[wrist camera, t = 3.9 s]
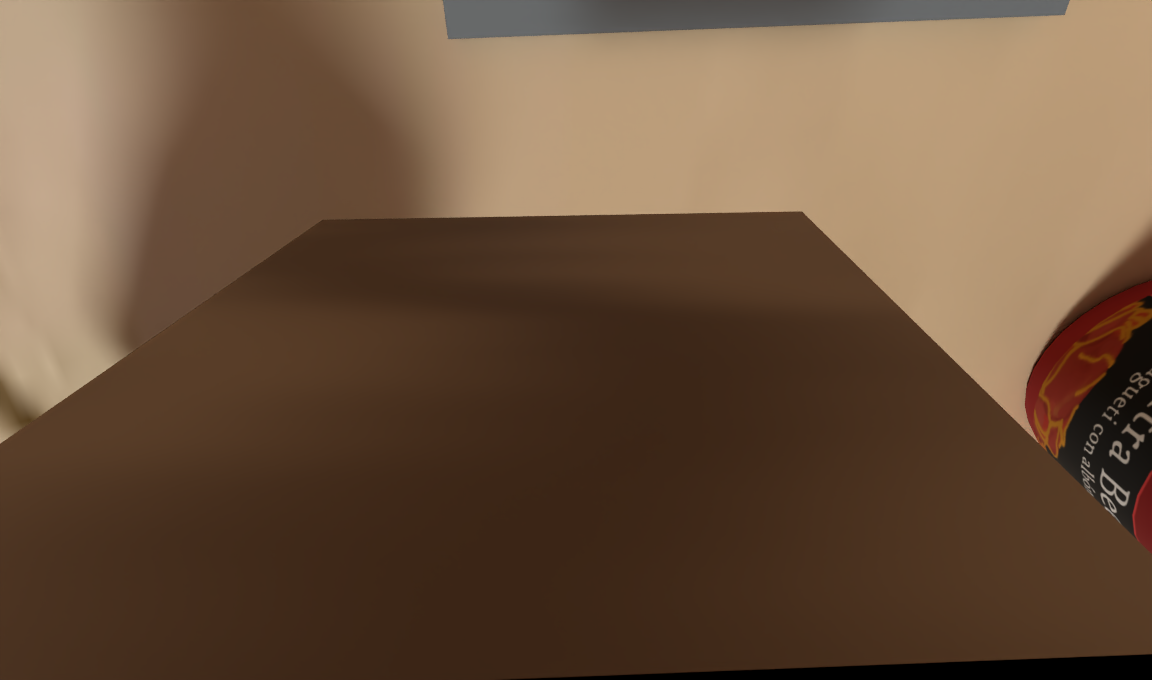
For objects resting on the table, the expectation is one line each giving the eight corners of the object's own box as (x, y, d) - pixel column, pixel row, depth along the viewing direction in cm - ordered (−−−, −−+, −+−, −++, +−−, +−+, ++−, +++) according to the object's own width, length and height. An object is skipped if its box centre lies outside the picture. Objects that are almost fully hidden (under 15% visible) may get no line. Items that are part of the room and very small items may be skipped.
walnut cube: (410, 539, 10) (197, 1092, 5) (322, 219, 7) (-489, 783, 2) (742, 545, 10) (898, 1152, 4) (801, 211, 7) (1490, 889, 1)
